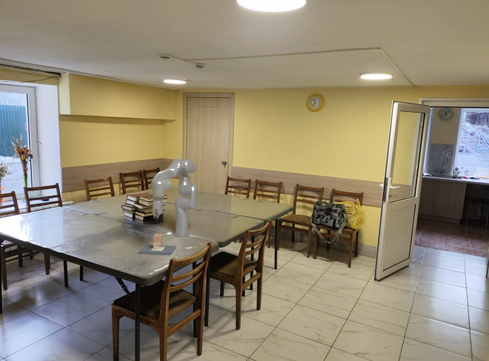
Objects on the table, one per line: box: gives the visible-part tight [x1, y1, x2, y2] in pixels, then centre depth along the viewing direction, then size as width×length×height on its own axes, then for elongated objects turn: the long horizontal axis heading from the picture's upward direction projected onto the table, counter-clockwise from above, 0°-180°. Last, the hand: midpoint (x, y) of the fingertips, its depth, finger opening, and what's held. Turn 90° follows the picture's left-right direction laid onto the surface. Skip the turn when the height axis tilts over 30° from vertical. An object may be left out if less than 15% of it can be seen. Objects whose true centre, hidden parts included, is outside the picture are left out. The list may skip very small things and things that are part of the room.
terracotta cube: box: [153, 233, 164, 243], centre depth 235 cm, size 5×5×5 cm
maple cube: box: [152, 241, 164, 250], centre depth 236 cm, size 5×5×5 cm
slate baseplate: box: [138, 243, 177, 256], centre depth 237 cm, size 15×22×2 cm
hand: (158, 222), depth 234 cm, fingers open, 9 cm apart
